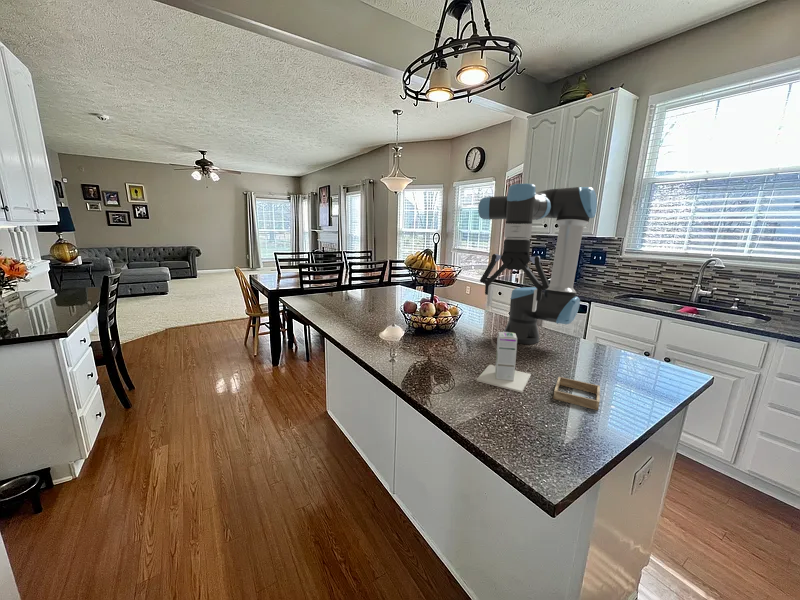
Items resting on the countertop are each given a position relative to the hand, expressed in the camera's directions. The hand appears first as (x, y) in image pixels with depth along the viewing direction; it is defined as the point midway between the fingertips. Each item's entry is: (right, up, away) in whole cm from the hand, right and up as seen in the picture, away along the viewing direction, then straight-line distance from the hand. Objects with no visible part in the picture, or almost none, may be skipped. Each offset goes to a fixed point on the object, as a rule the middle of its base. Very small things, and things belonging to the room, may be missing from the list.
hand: (511, 307), depth 102 cm
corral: (+17, -26, -6) cm, 32 cm away
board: (-1, -23, +5) cm, 24 cm away
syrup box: (-1, -23, +5) cm, 23 cm away
